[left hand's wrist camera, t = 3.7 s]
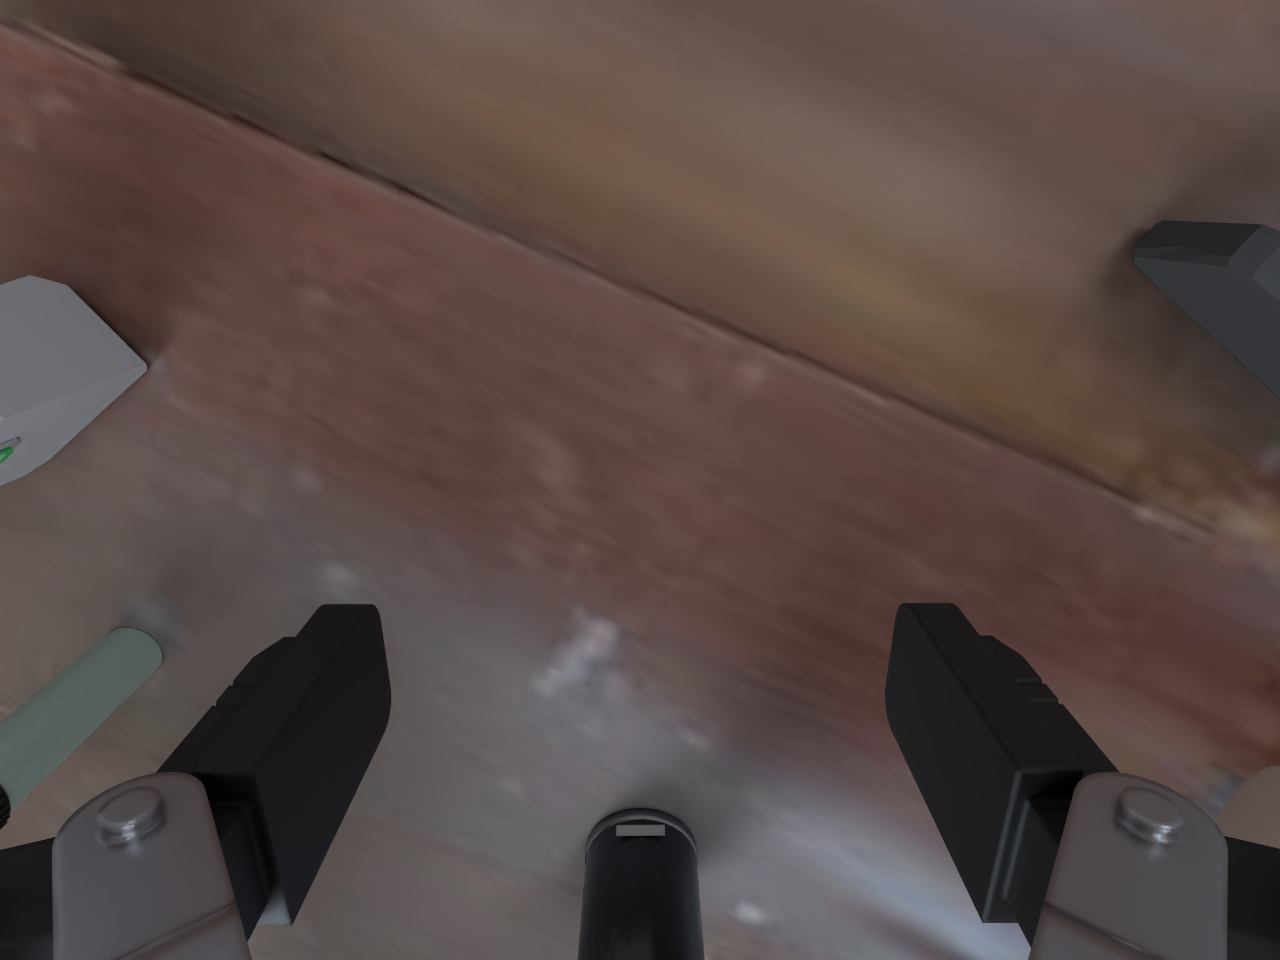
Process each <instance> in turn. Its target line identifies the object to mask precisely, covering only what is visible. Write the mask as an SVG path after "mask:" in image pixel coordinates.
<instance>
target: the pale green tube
mask: <svg viewBox="0 0 1280 960" xmlns="http://www.w3.org/2000/svg"><path fill="white" fill-rule="evenodd" d="M161 663H162V652H161V649H160V647H159V645H158V643H157V642H156V641H155V640H154V639H153V638H152V637H151V636H150V635H148V634H147V633H145V632H143V631H140V630H138V629H134V628H120V629H116V630H114V631H112V632H111V633H109V634H108V635H107V636H106V637H104V638H103V639H102V640H101V641H100V642H98V643H97V644H96V645H95V646H93V647H92V648H91V649H90V650H89V651H87V652H86V653H85V654H84V655H82V656H81V657H80V658H79V659H78V660H76V661H75V662H74V663H73V664H71V665H70V666H69V667H68V668H67V669H65V670H64V671H63V672H62V673H60V674H59V675H58V676H57V677H56V678H54V679H53V680H52V681H51V682H49V683H48V684H47V685H46V686H45V687H43V688H42V689H41V690H40V691H38V692H37V693H36V694H35V695H34V696H32V697H31V698H30V699H29V700H27V701H26V702H25V703H24V704H23V705H21V706H20V707H19V708H18V709H16V710H15V711H14V712H13V713H12V714H10V715H9V716H8V717H7V718H5V719H4V720H3V721H2V722H1V723H0V787H1V788H2V789H3V790H4V792H5V793H6V795H7V796H8V799H9V801H10V805H11V812H12V811H13V810H14V809H15V808H16V807H17V806H18V805H19V804H20V803H21V802H22V801H23V800H24V799H25V798H26V797H27V796H28V795H29V794H30V793H31V792H32V791H33V790H34V789H35V788H36V787H37V786H38V785H39V784H41V783H42V782H43V781H44V780H45V779H46V778H47V777H48V776H49V775H50V774H51V773H52V772H53V771H54V770H55V769H56V768H57V767H58V766H59V765H60V764H61V763H62V762H63V761H64V760H65V759H66V758H67V757H68V756H69V755H70V754H71V753H72V752H73V751H74V750H75V749H76V748H77V747H78V746H79V745H81V744H82V743H83V742H84V741H85V740H86V739H87V738H88V737H89V736H90V735H91V734H92V733H93V732H94V731H95V730H96V729H97V728H98V727H99V726H100V725H101V724H102V723H103V722H104V721H105V720H106V719H107V718H108V717H109V716H110V715H111V714H112V713H113V712H114V711H115V710H116V709H117V708H118V707H120V706H121V705H122V704H123V703H124V702H125V701H126V700H127V699H128V698H129V697H130V696H131V695H132V694H133V693H134V692H135V691H136V690H137V689H138V688H139V687H140V686H141V685H142V684H143V683H144V682H145V681H146V680H147V679H148V678H149V677H150V676H151V675H152V674H153V673H154V672H155V671H156V670H157V669H158V668H159V667H160V665H161ZM11 812H10V813H11Z"/></svg>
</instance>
